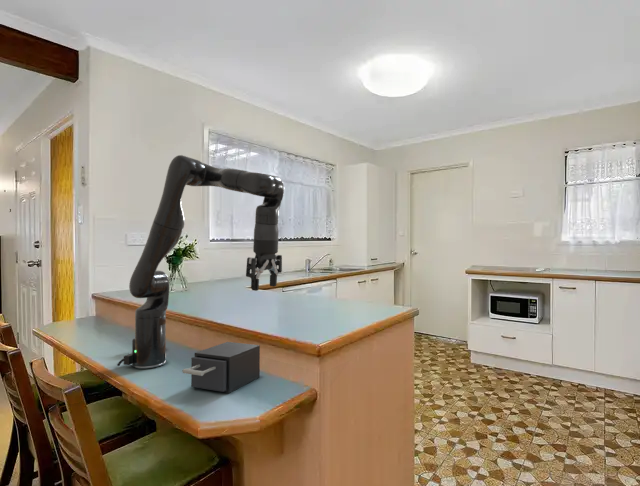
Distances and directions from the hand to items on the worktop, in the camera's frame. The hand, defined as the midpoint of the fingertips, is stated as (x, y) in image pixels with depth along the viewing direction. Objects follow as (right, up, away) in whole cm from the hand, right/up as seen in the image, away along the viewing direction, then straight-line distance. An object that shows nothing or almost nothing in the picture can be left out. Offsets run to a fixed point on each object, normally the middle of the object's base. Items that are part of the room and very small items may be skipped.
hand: (264, 288), depth 117 cm
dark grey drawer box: (-10, -29, -5) cm, 30 cm away
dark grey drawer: (-11, -28, -10) cm, 31 cm away
